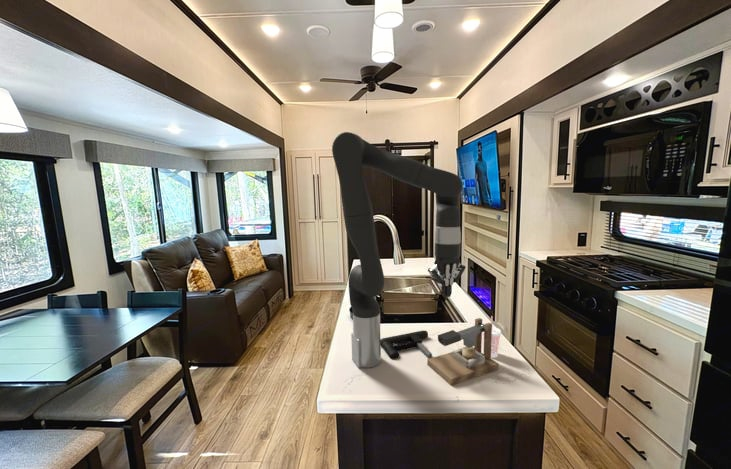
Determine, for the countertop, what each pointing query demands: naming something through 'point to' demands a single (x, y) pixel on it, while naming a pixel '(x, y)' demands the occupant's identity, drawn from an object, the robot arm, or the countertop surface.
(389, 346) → the black toy gun
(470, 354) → the wooden nut
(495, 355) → the beverage cup
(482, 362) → the nutcracker bench
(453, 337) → the nutcracker lever
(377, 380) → the countertop surface
